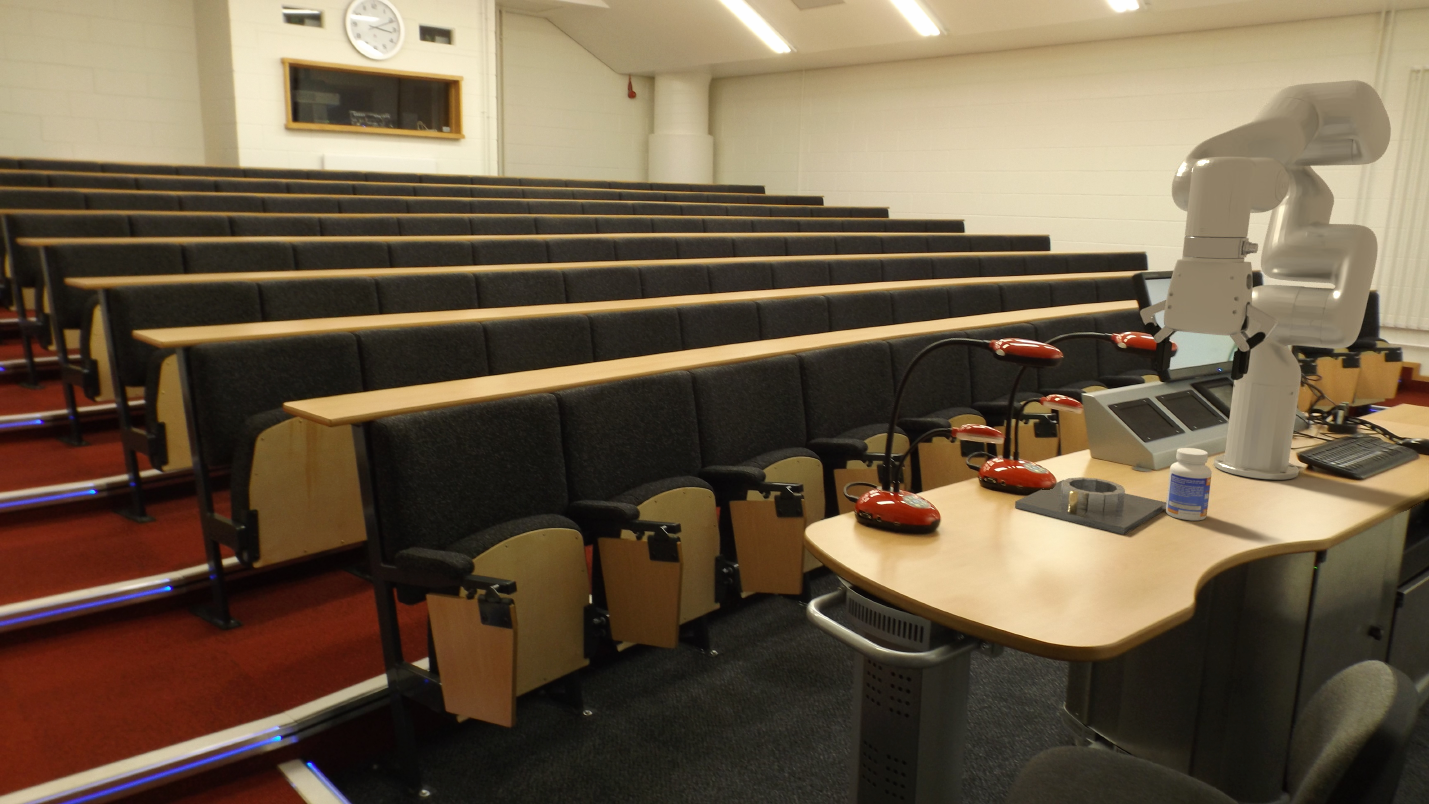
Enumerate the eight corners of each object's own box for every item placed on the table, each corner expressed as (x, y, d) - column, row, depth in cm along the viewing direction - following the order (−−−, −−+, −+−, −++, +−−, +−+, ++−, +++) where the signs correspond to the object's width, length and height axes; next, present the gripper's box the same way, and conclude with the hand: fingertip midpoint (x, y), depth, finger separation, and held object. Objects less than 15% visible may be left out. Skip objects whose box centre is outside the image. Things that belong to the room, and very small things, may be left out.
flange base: (1062, 485, 147) (1064, 461, 147) (1166, 508, 136) (1169, 483, 136) (1014, 507, 136) (1017, 482, 136) (1123, 534, 125) (1126, 507, 124)
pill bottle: (1211, 522, 130) (1219, 457, 128) (1170, 520, 132) (1178, 454, 130) (1199, 510, 136) (1207, 447, 134) (1160, 508, 137) (1167, 445, 135)
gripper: (1293, 252, 121) (1276, 379, 125) (1157, 247, 133) (1145, 363, 137) (1277, 254, 116) (1260, 386, 120) (1138, 249, 128) (1125, 369, 132)
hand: (1199, 374), depth 128 cm, fingers open, 9 cm apart
